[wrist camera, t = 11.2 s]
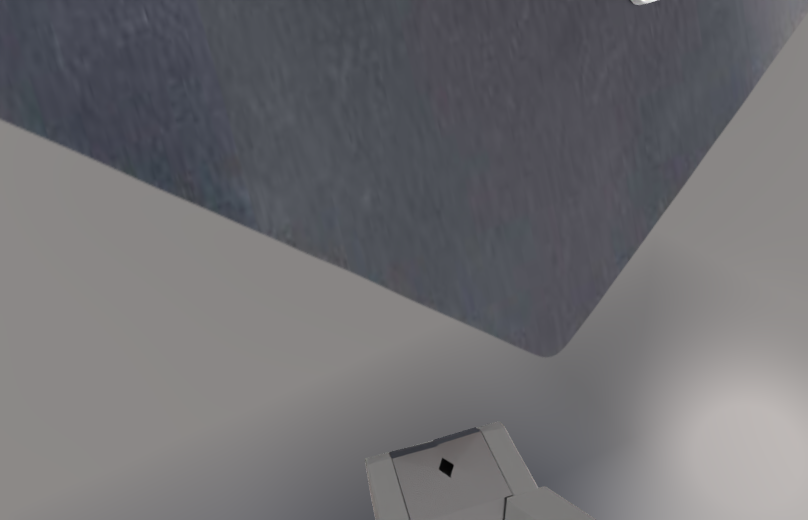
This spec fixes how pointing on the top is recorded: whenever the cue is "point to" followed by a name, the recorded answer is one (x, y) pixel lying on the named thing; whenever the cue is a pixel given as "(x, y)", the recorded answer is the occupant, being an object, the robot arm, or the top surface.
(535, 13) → the top surface
